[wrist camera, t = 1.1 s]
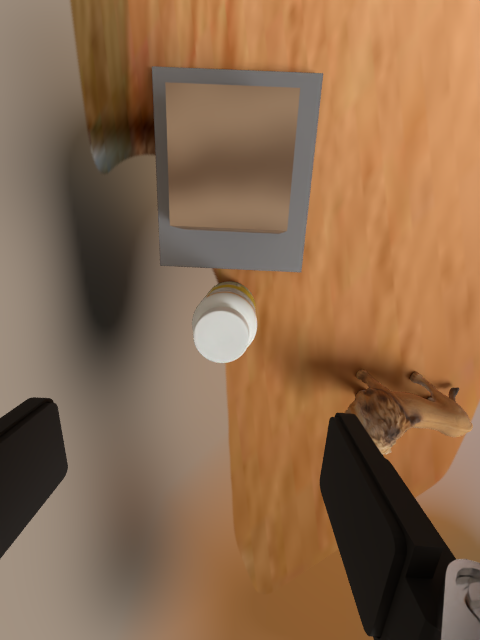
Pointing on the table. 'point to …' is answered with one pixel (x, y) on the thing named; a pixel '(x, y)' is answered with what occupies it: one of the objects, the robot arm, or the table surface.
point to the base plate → (289, 245)
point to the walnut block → (230, 156)
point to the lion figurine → (406, 411)
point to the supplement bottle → (225, 322)
